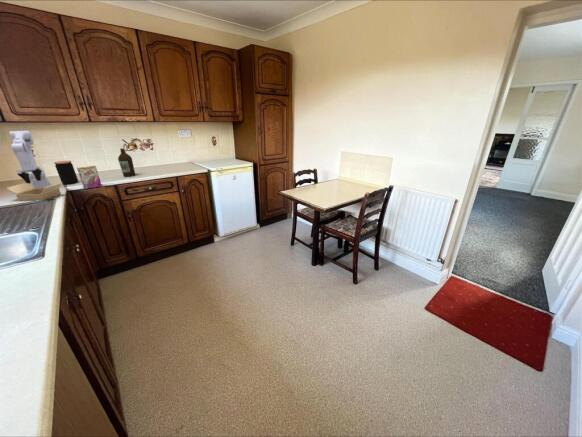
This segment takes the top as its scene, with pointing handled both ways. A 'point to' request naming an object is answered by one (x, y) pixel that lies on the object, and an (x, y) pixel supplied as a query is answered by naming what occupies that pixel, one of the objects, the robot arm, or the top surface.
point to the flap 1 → (20, 188)
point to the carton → (37, 195)
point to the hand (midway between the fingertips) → (34, 181)
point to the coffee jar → (66, 172)
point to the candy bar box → (89, 176)
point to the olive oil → (126, 164)
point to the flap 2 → (52, 187)
